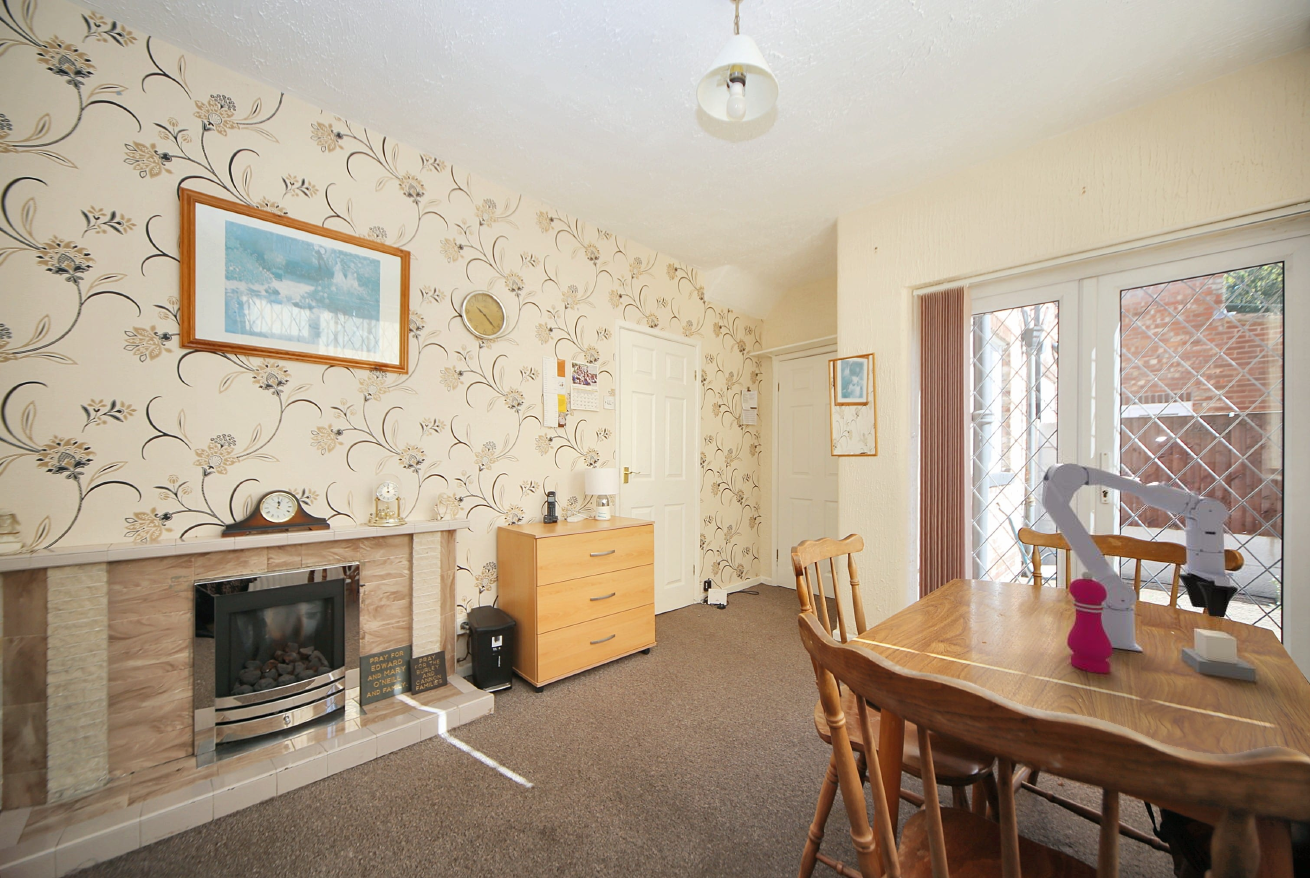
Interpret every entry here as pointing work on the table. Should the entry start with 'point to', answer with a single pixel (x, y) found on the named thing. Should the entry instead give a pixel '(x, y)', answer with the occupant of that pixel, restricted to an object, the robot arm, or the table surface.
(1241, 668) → the gray base block
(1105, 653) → the pepper mill
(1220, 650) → the cream block
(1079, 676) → the table surface
